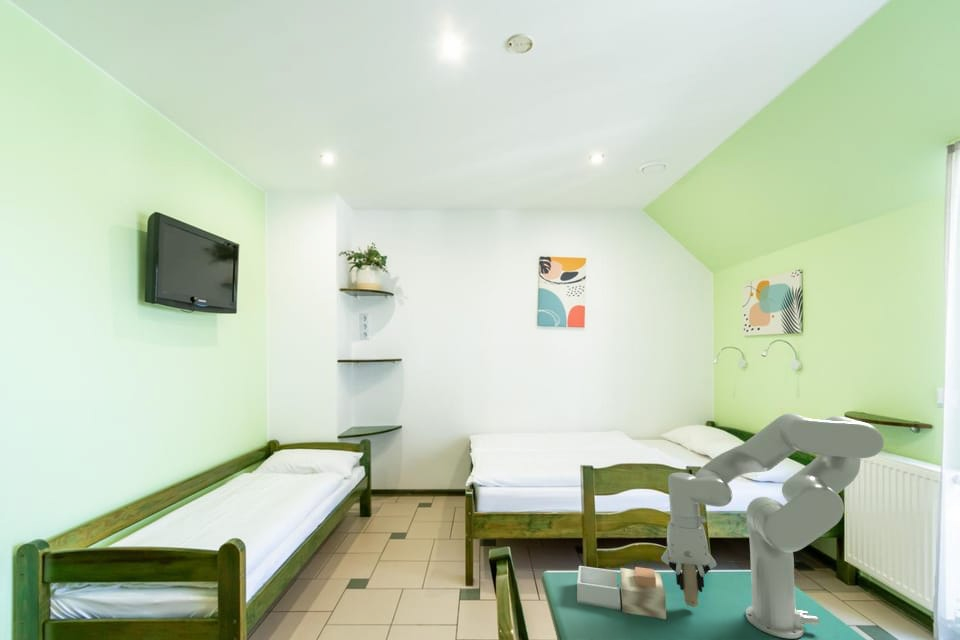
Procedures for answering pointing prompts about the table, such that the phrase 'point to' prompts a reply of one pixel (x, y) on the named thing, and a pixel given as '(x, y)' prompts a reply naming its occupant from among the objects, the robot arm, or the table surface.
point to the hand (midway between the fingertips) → (690, 587)
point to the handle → (690, 583)
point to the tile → (645, 577)
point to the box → (598, 587)
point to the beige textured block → (642, 596)
